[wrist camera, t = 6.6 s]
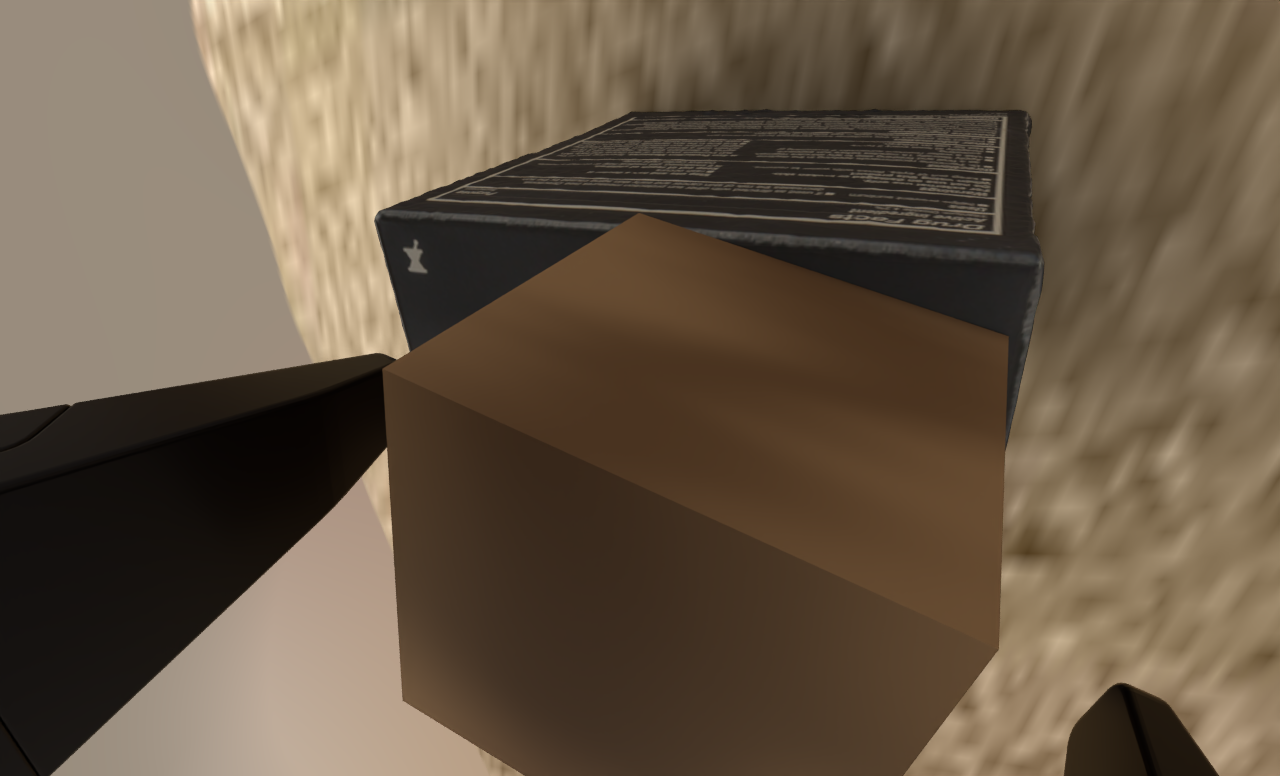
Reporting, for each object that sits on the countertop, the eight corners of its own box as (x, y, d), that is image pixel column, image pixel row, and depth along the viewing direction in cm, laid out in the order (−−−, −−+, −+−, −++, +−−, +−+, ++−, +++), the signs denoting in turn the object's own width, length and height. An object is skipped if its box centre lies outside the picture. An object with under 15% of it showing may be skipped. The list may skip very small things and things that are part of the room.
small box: (640, 316, 23) (431, 498, 15) (625, 108, 20) (352, 195, 12) (989, 359, 19) (964, 648, 11) (1039, 103, 16) (1059, 234, 8)
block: (1008, 336, 8) (998, 649, 4) (865, 601, 11) (783, 934, 7) (638, 213, 10) (382, 368, 6) (595, 476, 12) (403, 699, 9)
